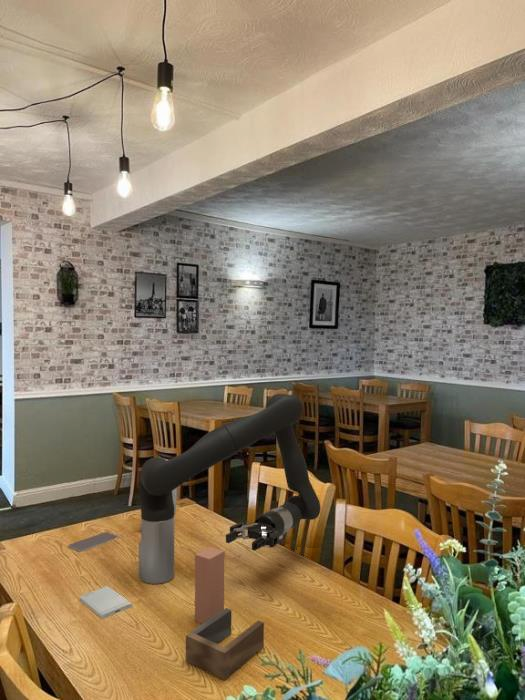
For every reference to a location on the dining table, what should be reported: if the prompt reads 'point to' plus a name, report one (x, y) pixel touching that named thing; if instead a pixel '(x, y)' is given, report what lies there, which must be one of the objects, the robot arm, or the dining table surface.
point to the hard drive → (105, 602)
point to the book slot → (216, 657)
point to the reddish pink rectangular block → (209, 584)
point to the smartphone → (92, 542)
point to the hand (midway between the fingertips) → (239, 543)
